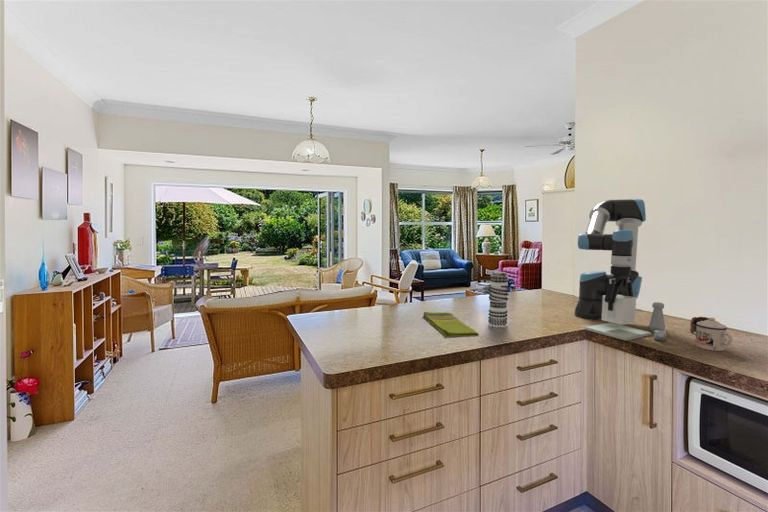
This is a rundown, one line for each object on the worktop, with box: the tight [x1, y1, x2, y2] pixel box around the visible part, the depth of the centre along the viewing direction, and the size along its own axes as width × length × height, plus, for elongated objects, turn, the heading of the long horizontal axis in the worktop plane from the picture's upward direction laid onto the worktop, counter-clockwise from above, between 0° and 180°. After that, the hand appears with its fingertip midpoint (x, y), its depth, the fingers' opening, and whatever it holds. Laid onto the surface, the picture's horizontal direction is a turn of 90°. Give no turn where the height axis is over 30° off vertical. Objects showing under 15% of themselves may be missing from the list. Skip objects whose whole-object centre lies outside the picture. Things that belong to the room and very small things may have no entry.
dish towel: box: [422, 311, 480, 338], centre depth 178 cm, size 15×36×3 cm, turn 9°
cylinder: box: [653, 329, 667, 343], centre depth 155 cm, size 4×4×4 cm
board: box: [584, 322, 652, 341], centre depth 167 cm, size 18×18×1 cm
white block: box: [601, 294, 637, 326], centre depth 166 cm, size 9×9×11 cm
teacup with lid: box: [695, 317, 734, 352], centre depth 145 cm, size 12×9×12 cm
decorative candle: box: [487, 271, 510, 328], centre depth 177 cm, size 9×9×25 cm
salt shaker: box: [648, 301, 666, 333], centre depth 168 cm, size 6×6×13 cm
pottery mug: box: [689, 316, 709, 334], centre depth 167 cm, size 12×10×8 cm
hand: (618, 316), depth 166 cm, fingers closed on white block, 9 cm apart
